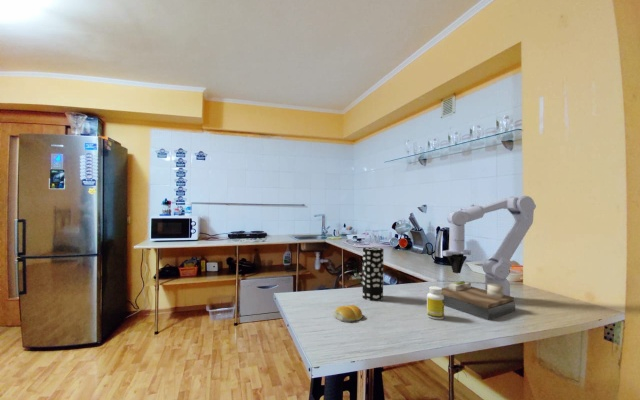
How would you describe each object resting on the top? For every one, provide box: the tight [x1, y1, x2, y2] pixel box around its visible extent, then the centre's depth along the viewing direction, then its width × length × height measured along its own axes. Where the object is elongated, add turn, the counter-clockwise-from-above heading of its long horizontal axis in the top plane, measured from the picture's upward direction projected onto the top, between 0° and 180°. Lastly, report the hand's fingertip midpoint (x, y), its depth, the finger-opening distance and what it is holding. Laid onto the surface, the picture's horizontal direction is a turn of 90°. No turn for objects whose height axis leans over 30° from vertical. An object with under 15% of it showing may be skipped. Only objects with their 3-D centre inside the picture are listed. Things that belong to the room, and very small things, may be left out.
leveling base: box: [443, 295, 516, 321], centre depth 106 cm, size 18×21×4 cm
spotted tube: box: [361, 247, 384, 302], centre depth 115 cm, size 8×8×20 cm
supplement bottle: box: [426, 285, 445, 320], centre depth 95 cm, size 5×5×10 cm
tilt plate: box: [441, 280, 515, 308], centre depth 107 cm, size 17×20×5 cm
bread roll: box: [334, 304, 363, 323], centre depth 94 cm, size 8×9×4 cm
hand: (456, 272), depth 116 cm, fingers closed
